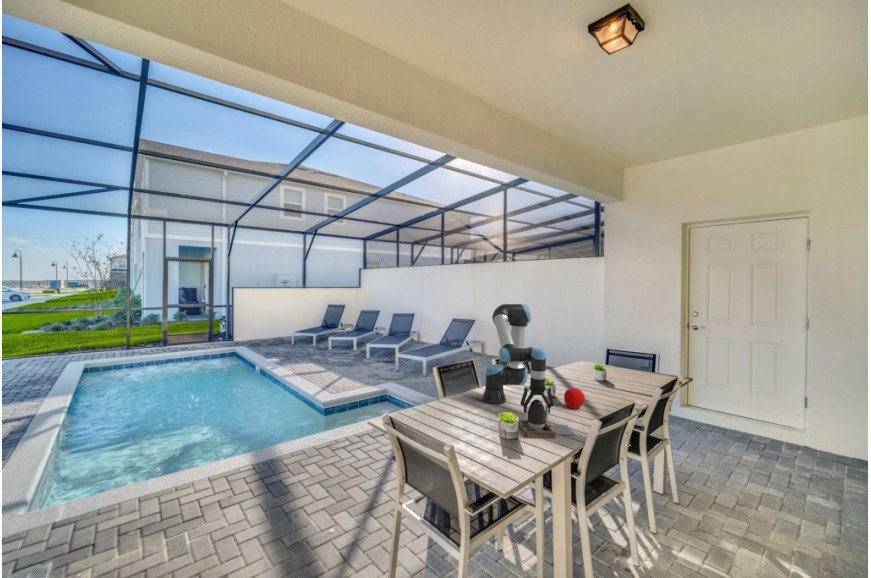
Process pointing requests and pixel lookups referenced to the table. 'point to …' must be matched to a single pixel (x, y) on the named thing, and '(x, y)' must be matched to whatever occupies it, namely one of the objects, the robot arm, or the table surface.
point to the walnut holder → (536, 434)
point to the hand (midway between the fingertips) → (536, 418)
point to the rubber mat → (562, 430)
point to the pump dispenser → (536, 415)
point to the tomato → (574, 398)
